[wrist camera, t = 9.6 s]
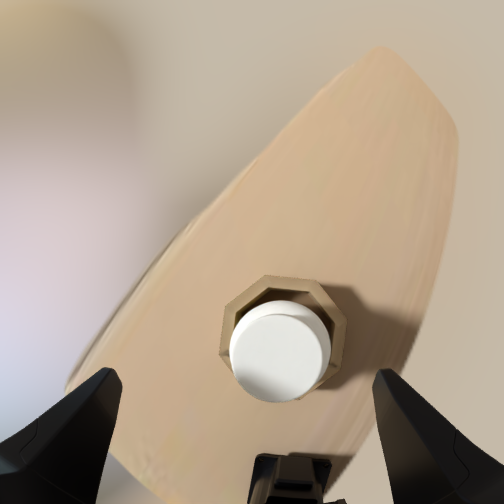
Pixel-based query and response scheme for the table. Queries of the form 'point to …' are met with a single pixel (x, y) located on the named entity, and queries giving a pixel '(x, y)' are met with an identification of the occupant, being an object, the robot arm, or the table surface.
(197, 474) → the table surface
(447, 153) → the table surface
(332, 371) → the can holder
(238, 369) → the supplement bottle
